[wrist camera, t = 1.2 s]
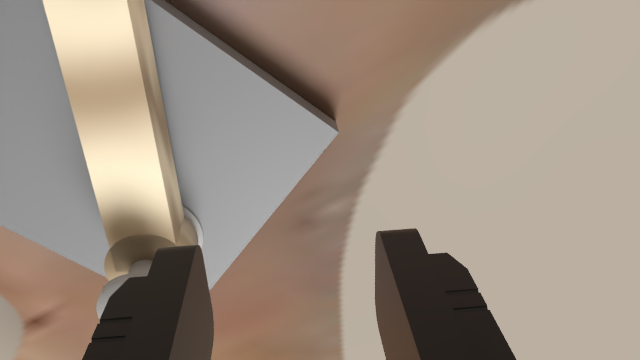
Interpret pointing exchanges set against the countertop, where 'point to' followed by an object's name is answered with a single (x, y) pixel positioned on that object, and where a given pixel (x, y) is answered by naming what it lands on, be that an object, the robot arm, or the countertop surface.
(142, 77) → the link
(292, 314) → the countertop surface
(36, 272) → the countertop surface
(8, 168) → the hinge plate
